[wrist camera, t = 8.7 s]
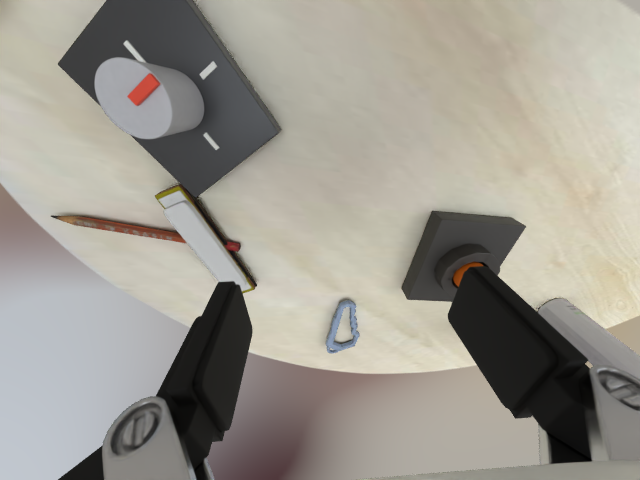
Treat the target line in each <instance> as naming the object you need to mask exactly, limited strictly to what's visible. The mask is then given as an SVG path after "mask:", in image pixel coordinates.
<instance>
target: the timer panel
mask: <svg viewBox="0 0 640 480" xmlns="http://www.w3.org/2000/svg"><path fill="white" fill-rule="evenodd" d="M116 57H122V58H128V59H132V60H137V61H141V62H145V63H149V64H154V65H158V66H162V67H166V68H171V69H175V70H178V71H180V72H182V73H183V74H185V75H186V76H188V77H189V78H190V79H191V80H192V81H193V82H194V83H195V85H196V86H197V88H198V89H199V91H200V93H201V95H202V98H203V102H204V116H203V119H202V121H201V122H200V124H199V125H198V126H197V127H195V128H193V129H191V130H187V131H183V132H179V133H175V134H172V135H168V136H164V137H160V138H156V139H141V138H137V137H135V136H132V135H131V136H132V137H133V138H134V139H135V140H136V141H137V142H138V143H139V144H140V145H141V146H142V147H143V148H144V149H146V150H147V151H148V152H149V153H150V154H151V155H152V156H153V157H154V158H155V159H156V160H157V161H158V162H159V163H160V164H161V165H162V166H163V167H164V168H165V169H166V170H167V171H168V172H169V173H170V174H171V175H172V176H173V177H174V178H175V179H177V180H178V181H179V182H180V183H181V184H182V185H183V186H184V187H185V188H186V189H187V190H188V191H189V192H190V193H191V194H192V195H193V196H194V197H195V198H196V197H198V196H199V195H200V194H201V193H203V192H204V191H205V190H207V189H208V188H209V187H210V186H212V185H213V184H214V183H216V182H217V181H218V180H219V179H221V178H222V177H223V176H224V175H226V174H227V173H228V172H230V171H231V170H232V169H233V168H235V167H236V166H237V165H238V164H240V163H241V162H242V161H244V160H245V159H246V158H247V157H249V156H250V155H251V154H253V153H254V152H255V151H256V150H258V149H259V148H260V147H261V146H263V145H264V144H265V143H267V142H268V141H269V140H270V139H272V138H273V137H274V136H275V135H277V134H278V133H279V132H280V131H281V128H280V126H279V125H278V123H277V122H276V120H275V119H274V117H273V116H272V115H271V113H270V112H269V110H268V109H267V107H266V106H265V104H264V103H263V101H262V100H261V99H260V97H259V96H258V94H257V93H256V91H255V90H254V88H253V87H252V86H251V84H250V83H249V81H248V80H247V78H246V77H245V75H244V74H243V72H242V71H241V70H240V68H239V67H238V65H237V64H236V62H235V61H234V59H233V58H232V56H231V55H230V54H229V52H228V51H227V49H226V48H225V46H224V45H223V43H222V42H221V40H220V39H219V38H218V36H217V35H216V33H215V32H214V30H213V29H212V27H211V26H210V24H209V23H208V22H207V20H206V19H205V17H204V16H203V14H202V13H201V11H200V10H199V8H198V7H197V6H196V4H195V3H194V1H193V0H107V1H106V2H105V3H104V4H103V6H102V7H101V8H100V10H99V11H98V12H97V14H96V15H95V16H94V17H93V19H92V20H91V21H90V23H89V24H88V25H87V26H86V28H85V29H84V30H83V32H82V33H81V34H80V36H79V37H78V38H77V39H76V41H75V42H74V43H73V45H72V46H71V47H70V48H69V50H68V51H67V52H66V54H65V55H64V56H63V57H62V59H61V60H60V61H59V63H58V65H59V66H60V67H61V68H62V69H63V70H64V71H65V72H66V73H67V74H68V75H69V76H70V77H71V78H72V79H73V80H74V81H75V82H76V83H77V84H78V85H79V86H80V87H81V88H82V89H84V90H85V91H86V92H87V93H88V94H89V95H90V96H91V97H92V98H93V99H94V100H95V101H96V102H97V103H98V104H99V105H100V103H99V101H98V99H97V95H96V92H95V83H94V82H95V75H96V72H97V70H98V68H99V66H100V65H101V64H102V63H103V62H105V61H106V60H108V59H111V58H116ZM100 106H101V105H100Z"/></svg>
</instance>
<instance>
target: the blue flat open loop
mask: <svg viewBox="0 0 640 480" xmlns="http://www.w3.org/2000/svg"><path fill="white" fill-rule="evenodd" d="M345 307H350V314H351V315H350V320H351V322H350V325H351V327H352V329H351V333H352V335H354V337H353V340H352V341H349V342H347V343H344V344H338V343H336V342H334V339H335V336H336V332H337V329H338V326H339V323H340V319H341V316H342V313H343V309H344V308H345ZM355 308H356V305H355V303H353V302H352V301H350V300H347V301H344V302H341V303H340V304H339V306H338V308H337V311H336V314H335V316H334V318H333V321H332V324H331V326H332V327H331V330H330V332H329V335H328V338H327V341H326V346H327V352H328V353H336V352H338V351H341V350H344V349H347V348H350V347H353V346H355V344H356V342H357V339H358V337H359V332H358V331H356V329H357V323H356V320H357V319H356V317H355V316H354V314H355V312H356V310H355ZM330 348H332V349H334V350H329V349H330Z"/></svg>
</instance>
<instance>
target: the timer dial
mask: <svg viewBox="0 0 640 480" xmlns="http://www.w3.org/2000/svg"><path fill="white" fill-rule="evenodd" d="M94 83H95V92H96V95H97V99H98V101H99V103H100V105H101V107H102V109H103V110H104V112H105V113H106V115H107V116H108V117H109V119H110V120H111V121H112V122H113V123H114V124H115V125H117V126H118V127H119V128H120V129H122V130H123V131H125V132H126V133H128V134H130V135H132V136H135V137H137V138H141V139H156V138H160V137H164V136H168V135H172V134H175V133H179V132H183V131H187V130H191V129H193V128H195V127H197V126H198V125H199V124H200V122H201V121H202V119H203V116H204V102H203V98H202V95H201V93H200V91H199V89H198V88H197V86H196V85H195V83H194V82H193V81H192V80H191V79H190V78H189V77H188V76H186V75H185V74H183V73H182V72H180V71H178V70H175V69H171V68H166V67H162V66H158V65H154V64H149V63H145V62H141V61H137V60H132V59H128V58H122V57H116V58H111V59H108V60H106V61H105V62H103V63H102V64H101V65H100V66H99V68H98V70H97V72H96V75H95V82H94Z"/></svg>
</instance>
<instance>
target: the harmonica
mask: <svg viewBox="0 0 640 480" xmlns="http://www.w3.org/2000/svg"><path fill="white" fill-rule="evenodd" d="M155 197H156V199H157V200H158V202H159V203H160V204H161V205H162V206H163V208H164V214H165V216H166V218H167V219H168V220H169V222H170V223H171V224H172V225H173V227H174V228H175V229H176V230H177V232H178V233H179V234H180V235H181V236H182V238H183V239H184V240H185V241H186V243H187V244H188V245H189V246H190V247H191V249H192V250H193V251H194V252H195V253H196V255H197V256H198V257H199V258H200V260H201V261H202V262H203V263H204V264H205V266H206V267H207V268H208V269H209V270H210V272H211V273H212V274H213V275H214V277H215V278H216V279H217V280H218V281H219V282H226V281H234V282H235V283H236V284H239V285H240V287H241V291H242V293H245V292H248V291H252V290H254V289H255V287H256V286H257V284H256V283H255V281H254V280H253V278H252V277H251V275H250V274H249V272H248V270H247V269H246V267H245V266H244V265H243V263H242V262H241V260H240V259H239V258H238V256H237V255H236V253H235V252H234V251H232V250H227V248H226V247H225V245H228V244H227V242H226V239H225V238H224V236H223V235H222V233H221V232H220V231H219V229H218V228H217V226H216V225H215V224H214V222H213V221H212V219H211V218H210V216H209V215H208V214H207V212H206V211H205V209H204V208H203V207H202V205H201V204H200V202H199V201H198V200H197V199H196V198H195V197H194V196H193V195H192V194H191V193H190V192H189V191H188V190H187V189H186V188H185V187H184V186H183V185H182V184H179V185H176V186H174V187H172V188H169V189H167V190H164V191H162V192H160V193H158V194H157V195H155Z"/></svg>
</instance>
